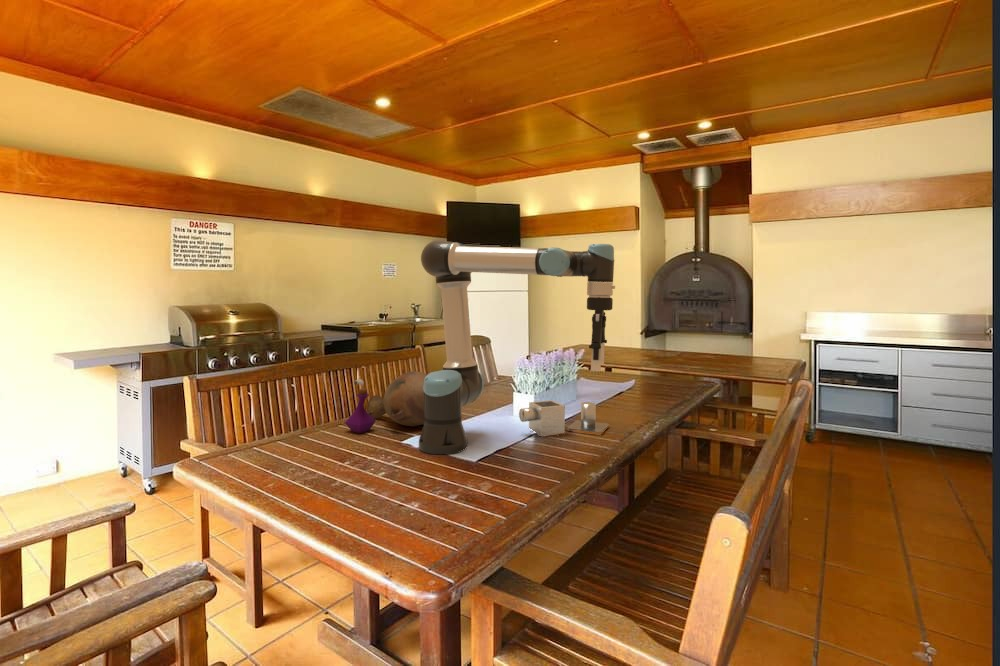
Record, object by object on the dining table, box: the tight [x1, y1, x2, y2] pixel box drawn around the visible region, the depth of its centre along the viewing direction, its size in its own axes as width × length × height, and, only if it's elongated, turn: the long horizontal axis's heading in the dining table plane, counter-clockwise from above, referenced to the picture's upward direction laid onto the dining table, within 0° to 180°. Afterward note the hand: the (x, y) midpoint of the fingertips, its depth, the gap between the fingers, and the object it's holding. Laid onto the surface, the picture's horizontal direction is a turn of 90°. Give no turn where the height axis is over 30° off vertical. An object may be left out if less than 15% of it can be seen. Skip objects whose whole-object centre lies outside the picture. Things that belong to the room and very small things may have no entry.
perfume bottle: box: [344, 378, 376, 434], centre depth 177 cm, size 8×8×18 cm
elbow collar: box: [518, 399, 566, 436], centre depth 176 cm, size 14×9×10 cm, turn 113°
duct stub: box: [566, 401, 610, 433], centre depth 181 cm, size 12×12×9 cm
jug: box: [366, 370, 428, 427], centre depth 188 cm, size 20×20×30 cm
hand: (597, 367), depth 155 cm, fingers open, 13 cm apart
